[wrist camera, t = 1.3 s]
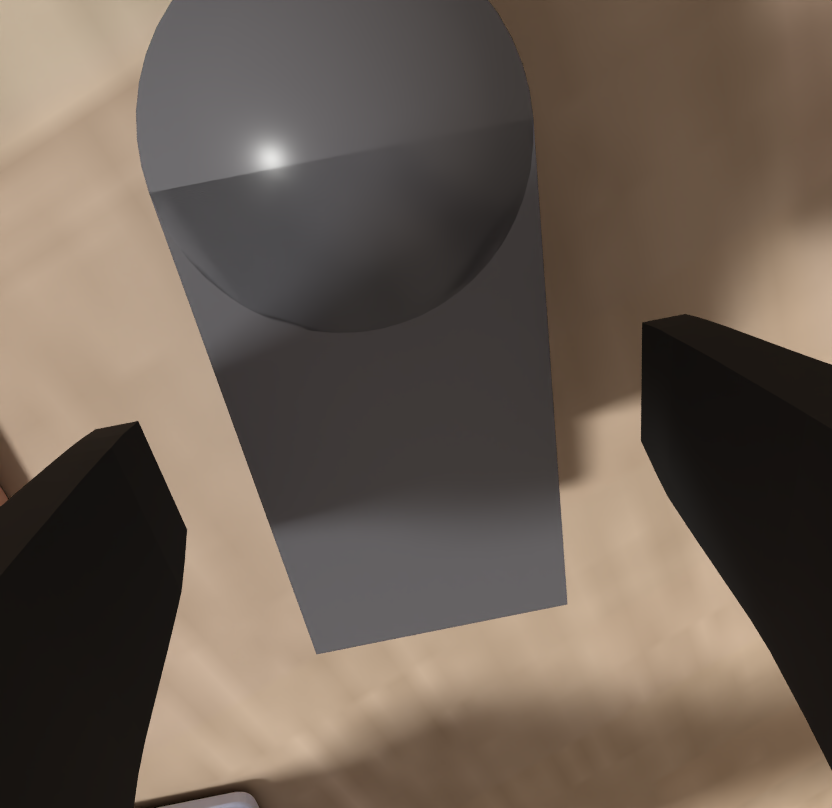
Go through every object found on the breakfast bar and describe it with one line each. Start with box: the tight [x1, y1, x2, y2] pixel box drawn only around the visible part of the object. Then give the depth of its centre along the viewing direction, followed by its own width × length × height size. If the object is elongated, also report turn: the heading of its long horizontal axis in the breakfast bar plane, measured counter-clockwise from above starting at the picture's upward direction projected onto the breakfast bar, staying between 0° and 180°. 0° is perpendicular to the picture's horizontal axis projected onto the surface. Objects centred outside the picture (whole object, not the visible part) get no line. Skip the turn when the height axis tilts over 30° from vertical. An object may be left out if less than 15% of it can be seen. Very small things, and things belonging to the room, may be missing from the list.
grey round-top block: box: [136, 0, 567, 654], centre depth 12 cm, size 12×4×5 cm, turn 9°
